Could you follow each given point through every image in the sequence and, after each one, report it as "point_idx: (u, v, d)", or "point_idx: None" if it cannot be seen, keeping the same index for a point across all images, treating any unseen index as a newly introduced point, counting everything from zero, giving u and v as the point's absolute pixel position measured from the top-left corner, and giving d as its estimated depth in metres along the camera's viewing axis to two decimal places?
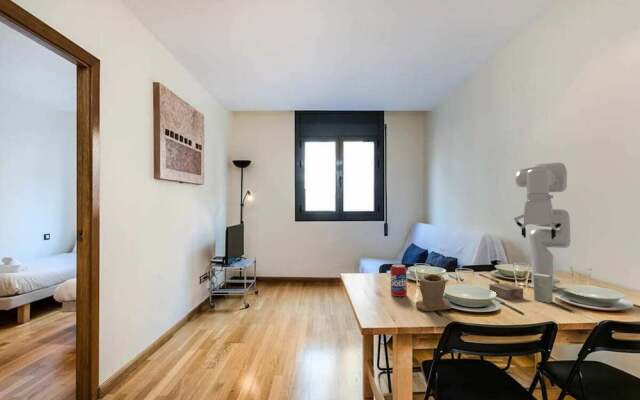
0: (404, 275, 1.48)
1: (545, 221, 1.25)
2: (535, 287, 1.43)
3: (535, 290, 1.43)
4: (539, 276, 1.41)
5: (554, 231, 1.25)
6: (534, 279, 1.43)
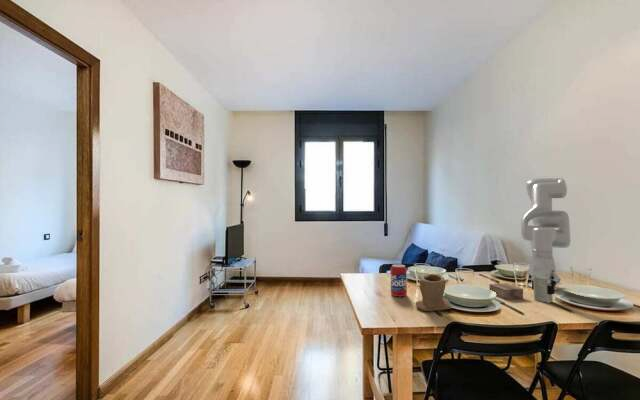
0: (404, 275, 1.48)
1: None
2: (535, 287, 1.43)
3: (535, 290, 1.43)
4: None
5: None
6: (534, 279, 1.43)
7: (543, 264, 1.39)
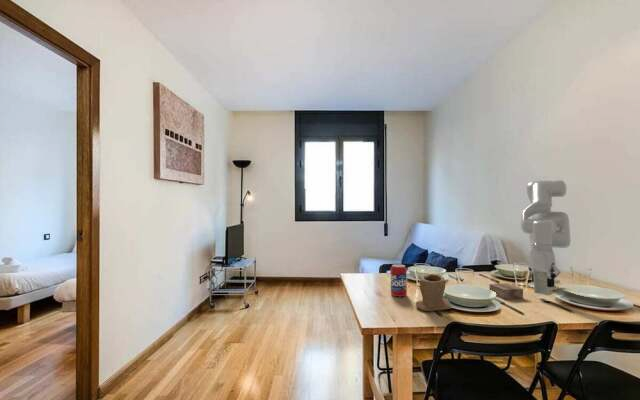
0: (404, 275, 1.48)
1: None
2: (535, 280, 1.43)
3: (535, 283, 1.43)
4: None
5: None
6: (534, 272, 1.43)
7: (543, 257, 1.39)
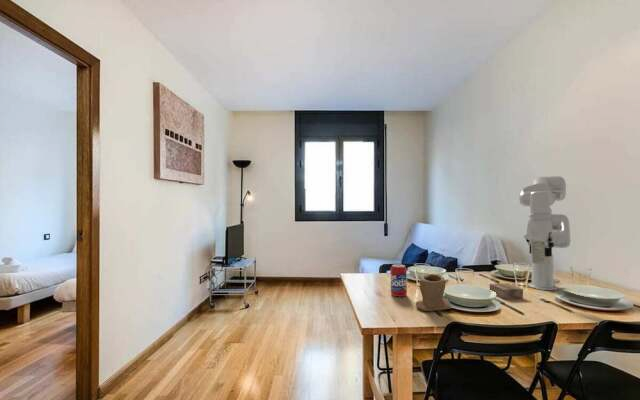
0: (404, 275, 1.48)
1: None
2: (533, 250, 1.43)
3: (533, 253, 1.43)
4: None
5: None
6: (532, 242, 1.43)
7: (541, 226, 1.39)
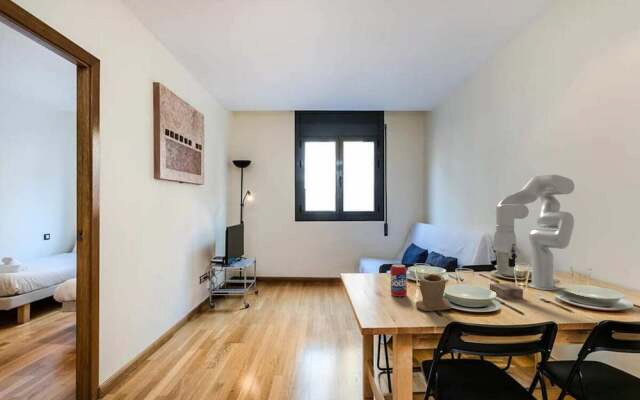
0: (404, 275, 1.48)
1: None
2: (498, 261, 1.50)
3: (498, 263, 1.50)
4: None
5: None
6: (497, 253, 1.50)
7: (505, 238, 1.46)
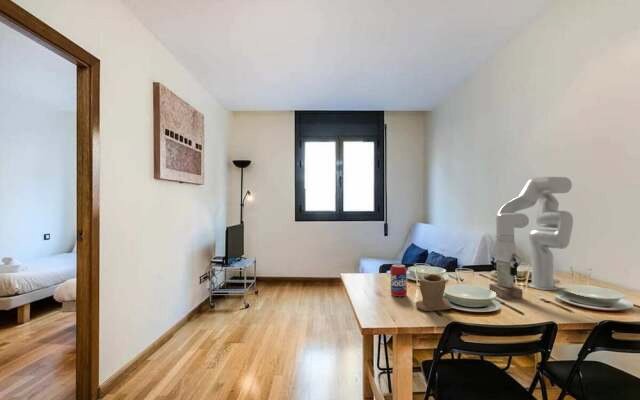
0: (404, 275, 1.48)
1: None
2: (498, 273, 1.51)
3: (498, 276, 1.51)
4: (502, 263, 1.49)
5: None
6: (497, 265, 1.51)
7: (505, 248, 1.46)
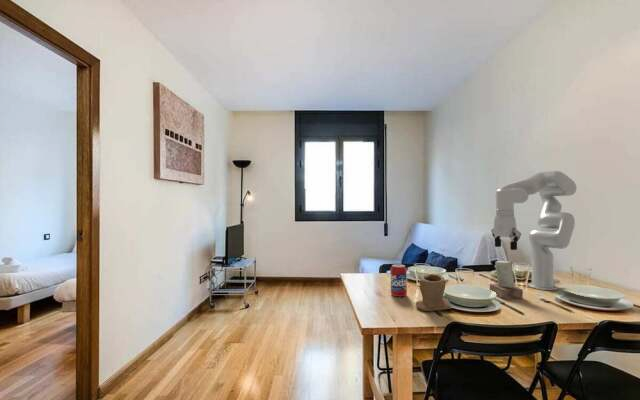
0: (404, 275, 1.48)
1: None
2: (498, 274, 1.50)
3: (498, 277, 1.50)
4: (500, 263, 1.49)
5: None
6: (496, 266, 1.50)
7: (505, 222, 1.46)
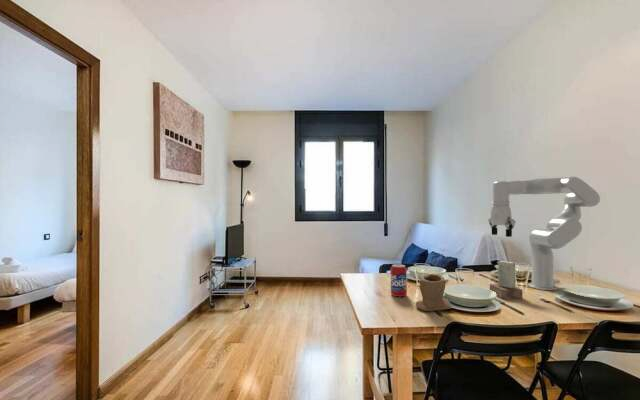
0: (404, 275, 1.48)
1: None
2: (499, 273, 1.50)
3: (499, 276, 1.50)
4: (503, 263, 1.48)
5: None
6: (499, 266, 1.50)
7: (501, 212, 1.60)
